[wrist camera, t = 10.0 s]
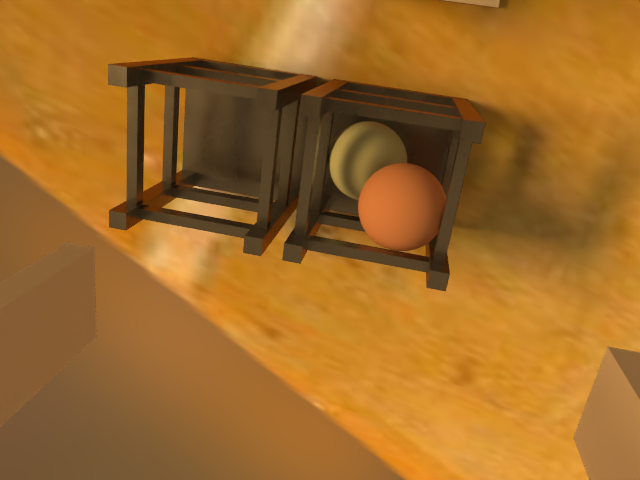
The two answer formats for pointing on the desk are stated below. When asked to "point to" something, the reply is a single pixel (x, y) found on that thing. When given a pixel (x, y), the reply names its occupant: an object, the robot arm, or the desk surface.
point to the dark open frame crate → (422, 149)
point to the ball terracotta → (401, 206)
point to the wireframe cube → (217, 145)
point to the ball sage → (363, 155)
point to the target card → (479, 2)
